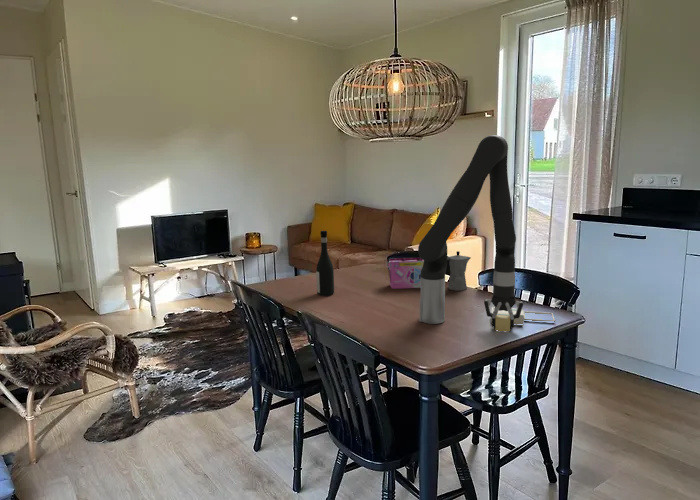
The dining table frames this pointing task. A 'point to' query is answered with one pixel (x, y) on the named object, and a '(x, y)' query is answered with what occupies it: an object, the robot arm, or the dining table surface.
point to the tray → (538, 313)
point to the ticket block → (517, 320)
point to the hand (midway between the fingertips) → (502, 327)
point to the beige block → (502, 322)
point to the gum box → (405, 272)
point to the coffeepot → (457, 272)
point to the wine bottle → (324, 270)
